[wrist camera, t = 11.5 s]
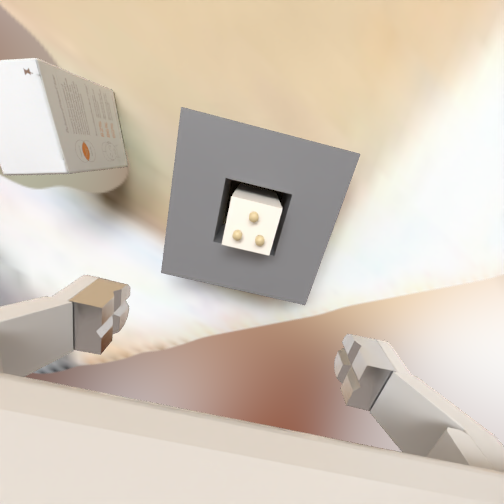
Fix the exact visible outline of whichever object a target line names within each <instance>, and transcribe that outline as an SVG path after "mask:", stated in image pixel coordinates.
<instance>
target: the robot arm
mask: <svg viewBox="0 0 504 504" xmlns="http://www.w3.org/2000/svg"><path fill="white" fill-rule="evenodd" d="M129 296H130V286H129V285H128V284H123V283H119V282H115V281H111V280H107V279H103V278H99V277H94V276H90V275H83V276H81V277H80V278H78V279H77V280H75V281H74V282H73V283H71V284H70V285H68V286H67V287H65V288H64V289H62V290H61V291H59V292H58V293H56V294H55V295H53V296H52V297H47V296H45V297H40V298H36V299H32V300H27V301H23V302H19V303H14V304H10V305H6V306H1V307H0V504H504V446H503V445H502V443H501V442H500V441H499V440H498V439H497V437H496V436H495V435H493V434H492V433H491V432H489V431H488V430H487V429H485V428H484V427H483V426H481V425H480V424H478V423H477V422H476V421H475V420H473V419H472V418H471V417H469V416H468V415H467V414H465V413H464V412H463V411H461V410H460V409H459V408H458V407H456V406H455V405H453V404H452V403H451V402H450V401H448V400H447V399H446V398H444V397H443V396H441V395H440V394H439V393H438V392H436V391H435V390H434V389H432V388H431V387H430V386H428V385H427V384H426V383H424V382H423V381H422V380H420V379H419V378H418V377H416V376H412V374H411V373H410V372H409V370H408V369H407V367H406V366H405V364H404V363H403V362H402V360H401V359H400V357H399V356H398V354H397V353H396V351H395V350H394V348H393V347H392V345H391V344H390V343H388V342H387V341H381V340H376V339H370V338H365V337H361V336H356V335H351V334H347V335H346V336H345V337H344V340H343V342H342V343H343V346H344V348H343V349H341V350H340V351H338V353H337V356H336V358H335V363H334V368H335V374H336V377H337V379H338V380H339V381H340V382H341V383H342V386H341V388H340V389H341V392H342V395H343V397H344V401H345V403H346V405H347V406H351V407H356V408H359V409H363V410H368V411H370V413H371V414H372V416H373V417H374V418H375V419H376V421H377V422H378V423H379V424H380V425H381V427H382V428H383V429H384V430H385V432H386V433H387V434H388V435H389V436H390V438H391V439H392V440H393V441H394V443H395V444H396V445H397V446H398V447H399V448H400V450H401V451H402V452H398V451H393V450H388V449H383V448H378V447H373V446H368V445H363V444H358V443H353V442H348V441H343V440H337V439H333V438H328V437H322V436H318V435H313V434H308V433H303V432H298V431H293V430H288V429H283V428H278V427H273V426H268V425H263V424H258V423H253V422H248V421H243V420H238V419H233V418H227V417H223V416H217V415H213V414H208V413H203V412H197V411H192V410H187V409H182V408H177V407H172V406H167V405H162V404H157V403H152V402H147V401H142V400H136V399H132V398H127V397H122V396H117V395H112V394H106V393H101V392H97V391H92V390H87V389H82V388H77V387H72V386H67V385H62V384H57V383H51V382H46V381H41V380H36V379H31V378H26V377H25V376H27V375H28V374H31V373H33V372H34V371H36V370H38V369H40V368H42V367H44V366H46V365H48V364H50V363H52V362H54V361H56V360H58V359H59V358H61V357H63V356H65V355H67V354H69V353H71V352H73V350H77V351H83V352H89V353H94V354H100V355H101V354H102V352H103V351H104V350H105V349H106V347H107V346H108V345H109V344H110V342H111V341H112V334H115V333H117V332H119V331H120V330H121V329H122V327H123V326H124V324H125V322H126V320H127V317H128V313H129V305H128V303H127V302H126V299H127V298H128V297H129Z"/></svg>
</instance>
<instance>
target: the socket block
mask: <svg viewBox="0 0 504 504" xmlns="http://www.w3.org/2000/svg"><path fill="white" fill-rule="evenodd" d="M359 157H360V154H359V153H355V152H351V151H347V150H343V149H340V148H336V147H332V146H328V145H324V144H321V143H317V142H313V141H309V140H305V139H301V138H298V137H294V136H290V135H286V134H282V133H279V132H275V131H271V130H267V129H263V128H260V127H256V126H252V125H248V124H244V123H240V122H237V121H233V120H229V119H225V118H221V117H218V116H214V115H210V114H206V113H202V112H199V111H195V110H191V109H187V108H183V107H181V113H180V122H179V130H178V138H177V146H176V155H175V163H174V171H173V179H172V187H171V196H170V204H169V212H168V220H167V229H166V237H165V245H164V253H163V261H162V270H161V273H164V274H169V275H173V276H178V277H182V278H186V279H191V280H195V281H200V282H204V283H209V284H213V285H218V286H222V287H227V288H231V289H235V290H240V291H244V292H249V293H253V294H258V295H262V296H267V297H271V298H276V299H280V300H284V301H289V302H293V303H298V304H302V305H305V304H306V301H307V299H308V296H309V293H310V290H311V288H312V285H313V282H314V279H315V277H316V274H317V271H318V269H319V266H320V263H321V260H322V258H323V255H324V252H325V249H326V247H327V244H328V241H329V238H330V236H331V233H332V230H333V228H334V225H335V222H336V219H337V217H338V214H339V211H340V208H341V206H342V203H343V200H344V198H345V195H346V192H347V189H348V187H349V184H350V181H351V178H352V176H353V173H354V170H355V168H356V165H357V162H358V159H359ZM232 180H236V181H240V182H244V183H248V184H252V185H256V186H260V187H264V188H268V189H272V190H276V191H280V192H284V193H283V197H282V200H281V206H282V208H283V209H282V213H281V216H280V220H279V223H278V227H277V230H276V234H275V237H274V241H273V244H272V248H271V251H270V255H269V256H268V255H264V254H260V253H255V252H251V251H247V250H243V249H238V248H234V247H230V246H226V245H221V244H222V240H223V235H224V230H225V225H224V224H223V220H224V215H225V210H226V205H227V200H228V195H229V191H230V186H231V181H232Z"/></svg>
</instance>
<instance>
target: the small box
mask: <svg viewBox="0 0 504 504" xmlns="http://www.w3.org/2000/svg"><path fill="white" fill-rule="evenodd" d="M0 166H1V168H2V171H3V174H4V175H45V174H71V173H79V172H86V171H95V170H105V169H113V168H121V167H128V163H127V158H126V153H125V148H124V143H123V138H122V133H121V128H120V123H119V118H118V113H117V108H116V103H115V98H114V93H113V90H112V89H109V88H107V87H104V86H102V85H100V84H97V83H95V82H92V81H90V80H87V79H85V78H83V77H80V76H78V75H76V74H73V73H71V72H69V71H66V70H64V69H62V68H59V67H57V66H55V65H52V64H50V63H47V62H45V61H42V60H40V59H38V58H30V59H13V60H0Z"/></svg>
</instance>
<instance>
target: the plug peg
mask: <svg viewBox="0 0 504 504" xmlns="http://www.w3.org/2000/svg"><path fill="white" fill-rule="evenodd" d="M282 209H283V208H282V206H281V203H280V201H279V199H278V196H277V194H276V192H273V191H269V190H265V189H261V188H257V187H253V186H249V185H245V184H241V183H240V184H239V186H238V187H237V189H236V190H235V192H234V193H233V195H232V196H231V201H230V206H229V211H228V216H227V220H226V225H225V230H224V235H223V240H222V244H221V245H226V246H230V247H234V248H238V249H243V250H247V251H251V252H255V253H260V254H264V255H268V256H269V255H270V251H271V248H272V244H273V241H274V237H275V234H276V230H277V227H278V223H279V220H280V216H281V213H282Z"/></svg>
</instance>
